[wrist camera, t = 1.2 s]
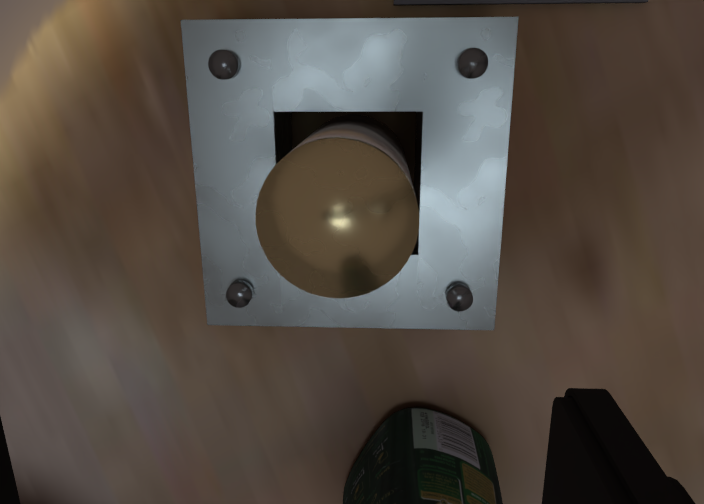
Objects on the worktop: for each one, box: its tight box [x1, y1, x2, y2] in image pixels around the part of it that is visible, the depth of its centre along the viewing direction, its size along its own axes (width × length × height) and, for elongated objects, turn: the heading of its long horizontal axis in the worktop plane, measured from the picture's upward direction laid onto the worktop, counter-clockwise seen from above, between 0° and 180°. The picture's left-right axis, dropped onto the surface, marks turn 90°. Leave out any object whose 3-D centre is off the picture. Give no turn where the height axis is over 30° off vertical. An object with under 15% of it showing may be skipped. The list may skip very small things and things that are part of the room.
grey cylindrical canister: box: [256, 114, 419, 298], centre depth 25 cm, size 6×6×12 cm
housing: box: [181, 17, 518, 330], centre depth 28 cm, size 14×14×6 cm
